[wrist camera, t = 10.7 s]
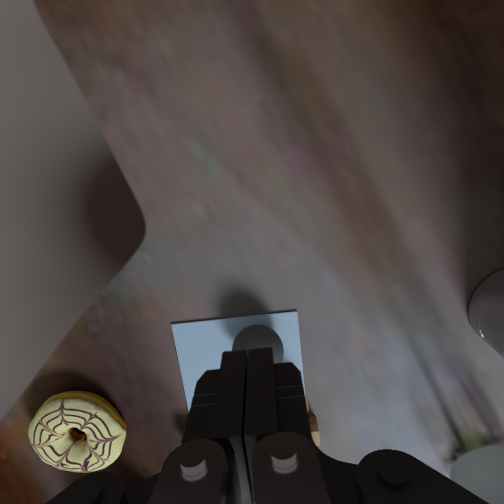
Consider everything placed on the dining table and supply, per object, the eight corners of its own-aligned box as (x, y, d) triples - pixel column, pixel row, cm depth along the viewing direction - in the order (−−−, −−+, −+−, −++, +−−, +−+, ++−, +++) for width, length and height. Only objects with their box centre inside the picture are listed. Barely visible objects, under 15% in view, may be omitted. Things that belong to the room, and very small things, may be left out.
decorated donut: (101, 469, 50) (89, 495, 46) (27, 426, 48) (8, 450, 45) (145, 416, 47) (135, 439, 44) (68, 369, 46) (52, 389, 42)
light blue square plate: (296, 310, 43) (297, 311, 43) (307, 417, 47) (307, 418, 47) (171, 323, 43) (171, 324, 43) (192, 427, 47) (192, 428, 47)
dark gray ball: (287, 331, 44) (260, 306, 41) (298, 372, 40) (269, 347, 37) (247, 353, 46) (219, 330, 42) (254, 395, 41) (223, 373, 38)
